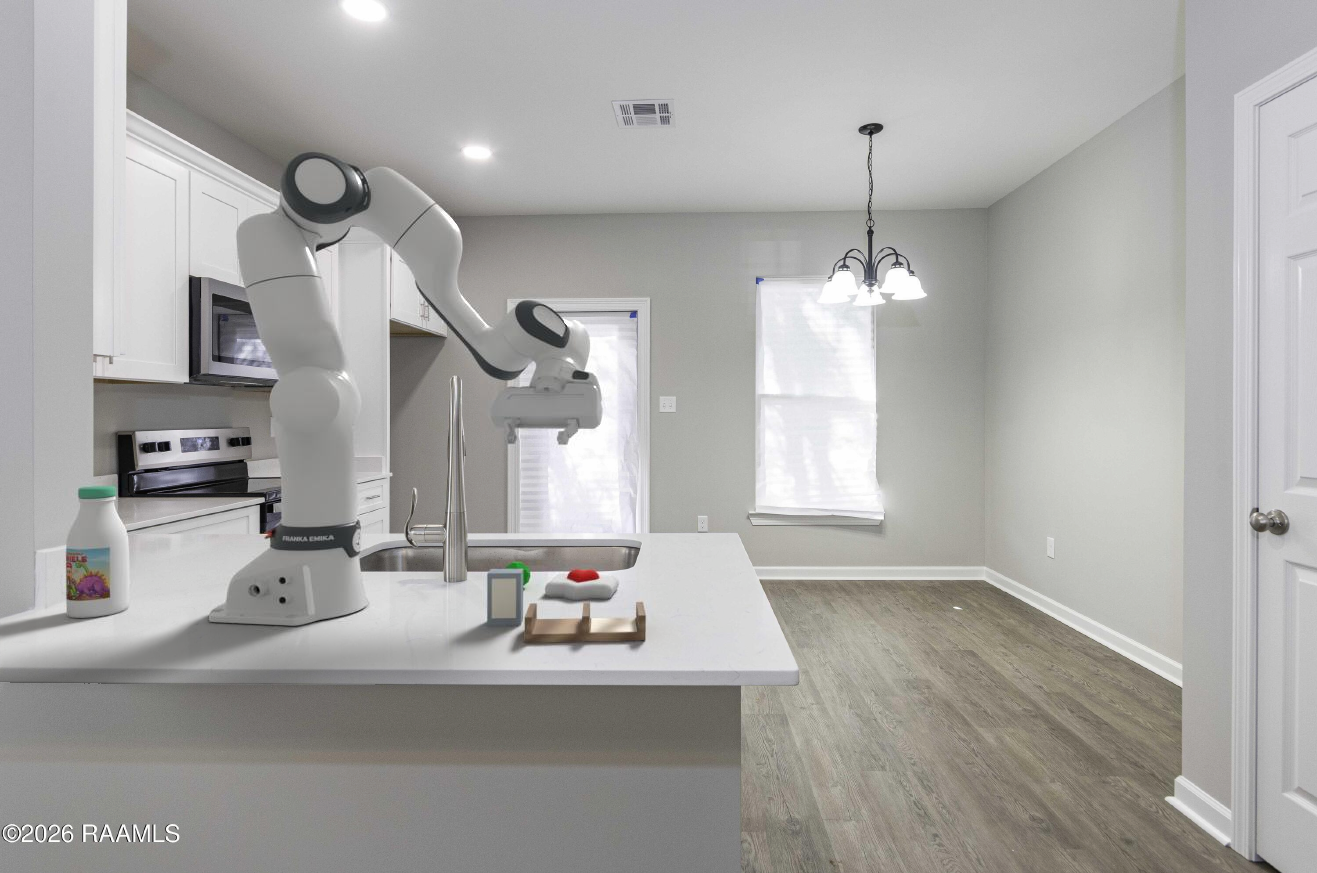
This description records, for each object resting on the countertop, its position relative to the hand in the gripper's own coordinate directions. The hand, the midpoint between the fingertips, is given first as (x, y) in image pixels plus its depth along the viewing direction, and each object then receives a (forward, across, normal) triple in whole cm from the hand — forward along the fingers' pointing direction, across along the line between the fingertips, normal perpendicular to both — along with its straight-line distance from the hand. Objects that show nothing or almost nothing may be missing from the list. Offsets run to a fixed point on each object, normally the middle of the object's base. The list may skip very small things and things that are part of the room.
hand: (535, 442), depth 114 cm
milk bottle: (+34, -65, +4) cm, 74 cm away
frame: (+28, 0, +10) cm, 30 cm away
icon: (+15, +6, +24) cm, 29 cm away
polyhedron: (+14, -7, +25) cm, 29 cm away
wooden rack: (+30, +13, +9) cm, 34 cm away
